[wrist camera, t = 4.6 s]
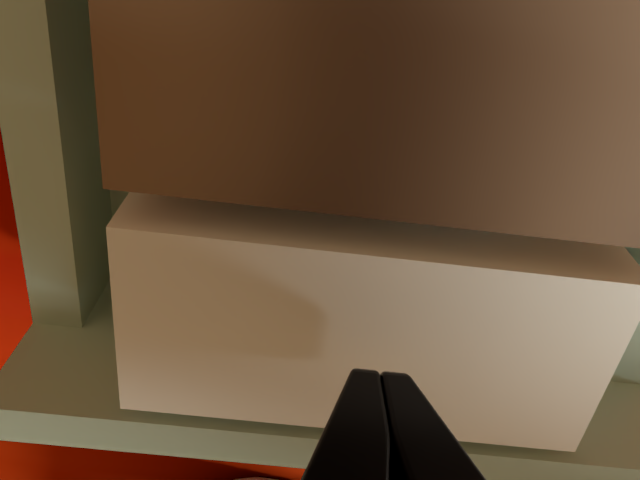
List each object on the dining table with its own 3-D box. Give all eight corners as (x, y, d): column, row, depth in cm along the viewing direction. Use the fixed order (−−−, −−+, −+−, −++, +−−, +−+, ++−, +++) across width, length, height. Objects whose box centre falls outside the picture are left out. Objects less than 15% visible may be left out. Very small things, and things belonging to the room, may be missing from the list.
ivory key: (596, 212, 11) (656, 286, 9) (536, 362, 13) (574, 452, 11) (148, 162, 10) (105, 227, 8) (155, 323, 12) (120, 409, 10)
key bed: (907, -440, 9) (1586, -826, 4) (580, 320, 16) (684, 503, 11) (6, -587, 8) (-440, -1236, 3) (90, 269, 15) (-17, 438, 11)
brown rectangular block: (699, -43, 9) (809, -23, 7) (609, 182, 10) (672, 252, 8) (139, -118, 8) (77, -120, 6) (148, 129, 10) (102, 189, 8)
